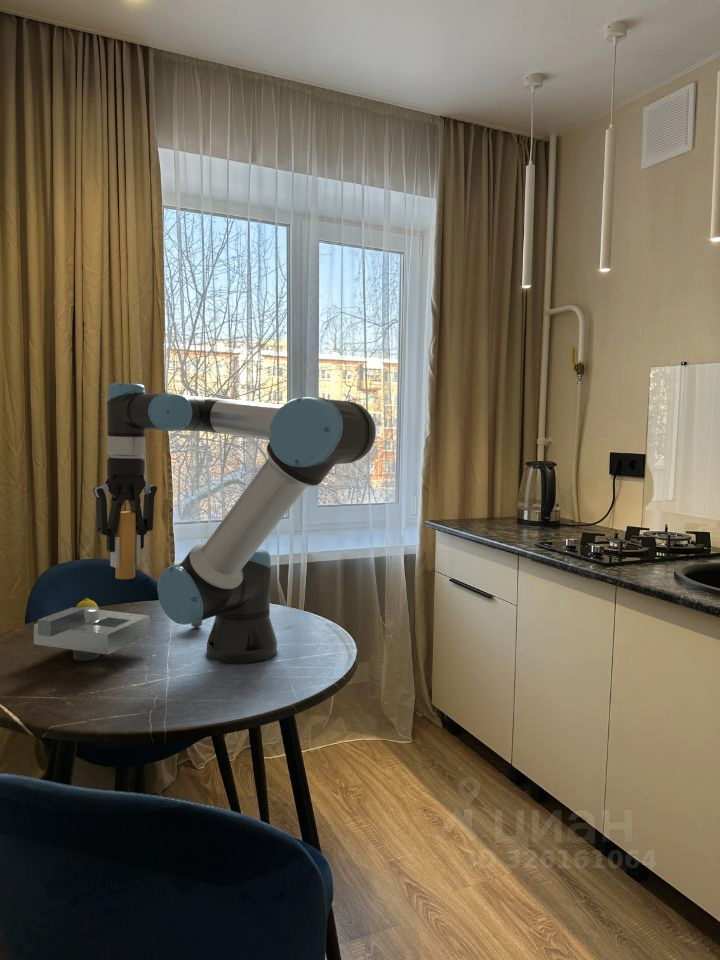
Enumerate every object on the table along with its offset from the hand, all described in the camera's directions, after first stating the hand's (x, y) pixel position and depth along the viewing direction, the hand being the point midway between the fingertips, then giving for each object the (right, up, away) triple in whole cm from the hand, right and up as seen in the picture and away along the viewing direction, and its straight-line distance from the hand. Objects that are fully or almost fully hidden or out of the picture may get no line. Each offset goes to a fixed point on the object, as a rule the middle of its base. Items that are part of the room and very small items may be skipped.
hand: (125, 565), depth 142 cm
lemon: (-14, -18, +13) cm, 26 cm away
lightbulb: (+11, -18, +19) cm, 28 cm away
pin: (0, -3, 0) cm, 3 cm away
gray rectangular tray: (-6, -19, -6) cm, 21 cm away
